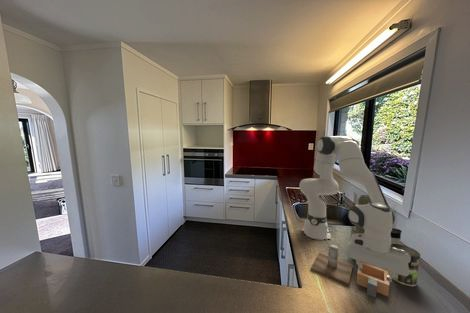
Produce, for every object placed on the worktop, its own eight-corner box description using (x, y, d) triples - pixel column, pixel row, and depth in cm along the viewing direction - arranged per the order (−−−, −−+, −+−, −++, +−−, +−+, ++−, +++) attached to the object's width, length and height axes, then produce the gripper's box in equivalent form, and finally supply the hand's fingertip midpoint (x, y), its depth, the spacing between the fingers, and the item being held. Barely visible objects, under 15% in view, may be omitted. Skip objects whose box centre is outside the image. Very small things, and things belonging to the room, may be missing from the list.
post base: (318, 255, 103) (320, 235, 102) (352, 268, 93) (354, 246, 93) (310, 270, 91) (312, 247, 90) (348, 286, 81) (350, 261, 80)
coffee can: (420, 282, 85) (424, 252, 84) (411, 289, 80) (414, 258, 79) (393, 268, 94) (396, 241, 93) (383, 274, 89) (386, 246, 88)
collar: (358, 270, 91) (359, 261, 91) (387, 281, 85) (388, 271, 84) (355, 288, 80) (356, 277, 79) (388, 303, 73) (389, 291, 73)
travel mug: (401, 272, 92) (405, 232, 90) (386, 269, 93) (389, 231, 92) (393, 264, 98) (396, 227, 96) (379, 262, 99) (382, 225, 98)
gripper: (410, 249, 72) (407, 283, 73) (349, 232, 85) (347, 261, 85) (412, 256, 67) (409, 292, 68) (347, 237, 80) (345, 268, 80)
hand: (374, 275), depth 77 cm, fingers open, 8 cm apart
